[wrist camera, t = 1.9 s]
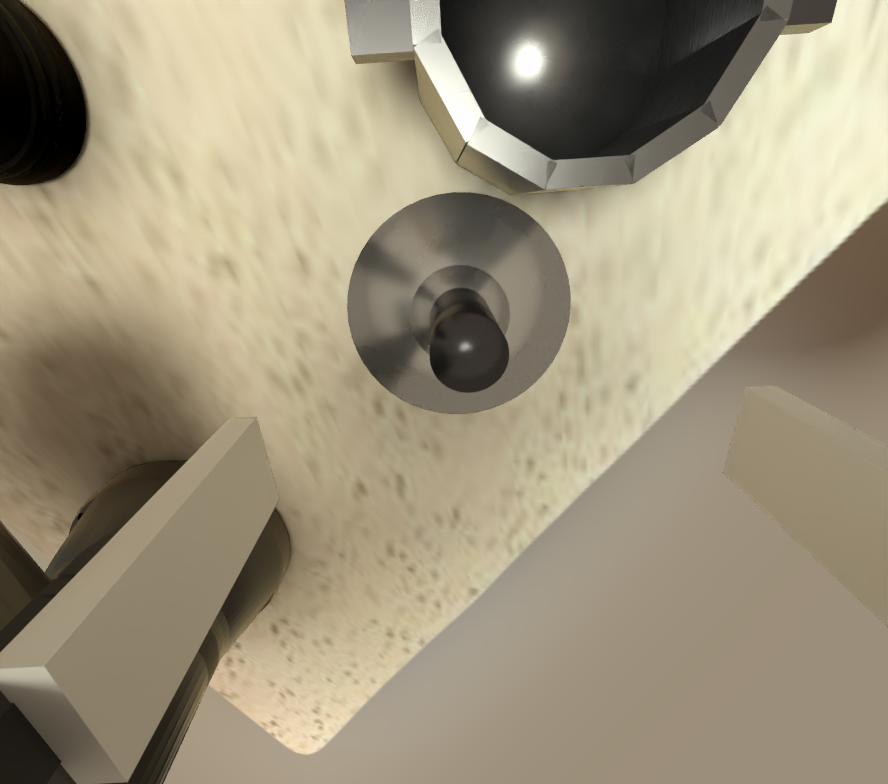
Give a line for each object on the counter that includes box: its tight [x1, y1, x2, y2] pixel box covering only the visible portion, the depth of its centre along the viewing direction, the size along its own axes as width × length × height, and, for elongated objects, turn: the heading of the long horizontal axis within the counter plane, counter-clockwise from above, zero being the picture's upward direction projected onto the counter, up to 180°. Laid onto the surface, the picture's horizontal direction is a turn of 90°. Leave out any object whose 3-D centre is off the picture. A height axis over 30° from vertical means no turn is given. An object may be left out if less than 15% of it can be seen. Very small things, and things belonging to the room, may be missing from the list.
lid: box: [347, 193, 570, 414], centre depth 23 cm, size 14×14×9 cm
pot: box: [345, 0, 837, 195], centre depth 17 cm, size 18×13×8 cm
